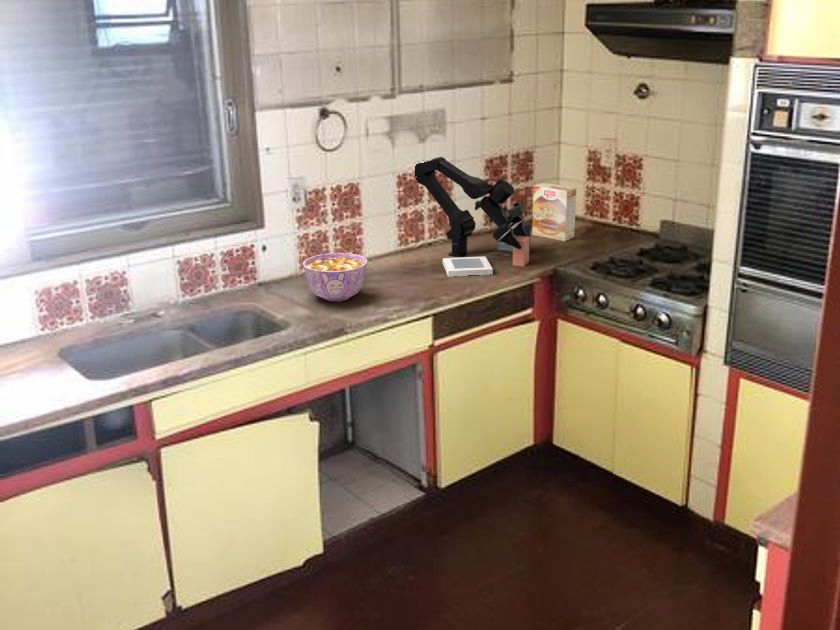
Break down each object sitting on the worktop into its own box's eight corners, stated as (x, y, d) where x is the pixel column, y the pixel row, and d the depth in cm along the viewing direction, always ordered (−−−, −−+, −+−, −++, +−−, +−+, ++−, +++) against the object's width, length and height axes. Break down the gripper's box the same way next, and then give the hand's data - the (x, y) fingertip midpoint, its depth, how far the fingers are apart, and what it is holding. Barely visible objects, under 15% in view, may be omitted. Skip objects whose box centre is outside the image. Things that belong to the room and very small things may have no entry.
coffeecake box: (531, 235, 356) (532, 185, 349) (541, 231, 361) (543, 182, 354) (564, 241, 346) (567, 190, 340) (574, 237, 352) (577, 187, 345)
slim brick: (517, 260, 325) (518, 235, 321) (528, 261, 323) (529, 236, 320) (512, 265, 319) (513, 240, 316) (523, 266, 318) (524, 241, 315)
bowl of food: (335, 312, 277) (333, 275, 273) (291, 298, 289) (289, 263, 285) (381, 296, 290) (380, 260, 286) (338, 283, 303) (337, 249, 299)
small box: (530, 250, 336) (531, 222, 332) (522, 255, 331) (523, 226, 327) (505, 246, 341) (505, 219, 337) (496, 251, 336) (497, 223, 332)
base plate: (442, 263, 322) (442, 257, 321) (485, 261, 323) (485, 255, 323) (448, 276, 308) (448, 270, 307) (492, 274, 309) (492, 268, 309)
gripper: (502, 202, 307) (533, 237, 306) (519, 190, 323) (548, 224, 322) (479, 223, 312) (510, 257, 312) (497, 210, 328) (526, 243, 328)
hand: (524, 245), depth 318 cm, fingers open, 9 cm apart
